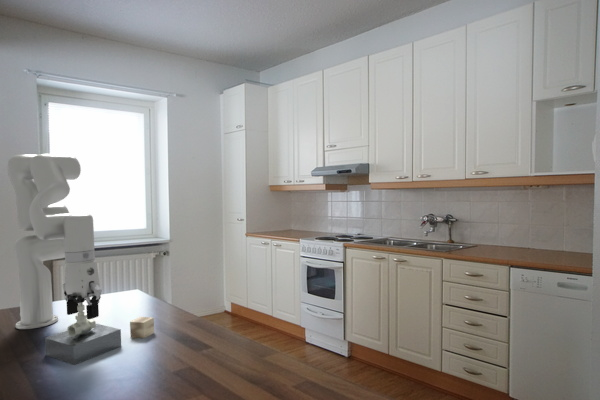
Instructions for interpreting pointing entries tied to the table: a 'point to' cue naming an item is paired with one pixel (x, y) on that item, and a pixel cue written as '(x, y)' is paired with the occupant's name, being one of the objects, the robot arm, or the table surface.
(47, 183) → the robot arm
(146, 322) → the pale wood block
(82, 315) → the valve
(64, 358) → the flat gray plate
